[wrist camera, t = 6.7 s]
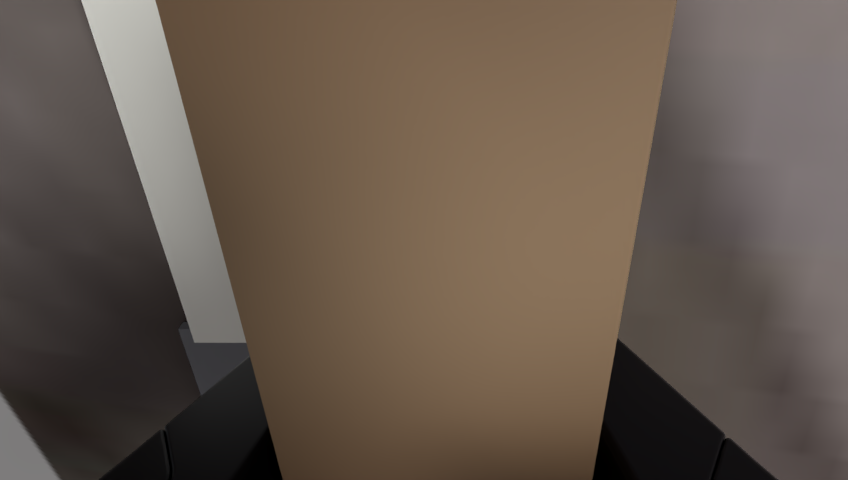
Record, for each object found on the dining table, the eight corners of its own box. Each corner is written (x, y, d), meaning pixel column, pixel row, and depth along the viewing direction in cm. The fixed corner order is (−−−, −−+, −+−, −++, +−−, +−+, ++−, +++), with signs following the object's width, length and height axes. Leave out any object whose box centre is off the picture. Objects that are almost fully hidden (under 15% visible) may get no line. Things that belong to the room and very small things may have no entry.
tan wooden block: (507, 513, 13) (533, 812, 9) (398, 511, 13) (368, 803, 9) (555, -287, 6) (832, -879, 2) (315, -270, 6) (-50, -762, 2)
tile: (447, 343, 17) (194, 342, 17) (448, 299, 19) (220, 300, 19) (435, -129, 11) (45, -108, 11) (438, -122, 13) (105, -104, 13)
